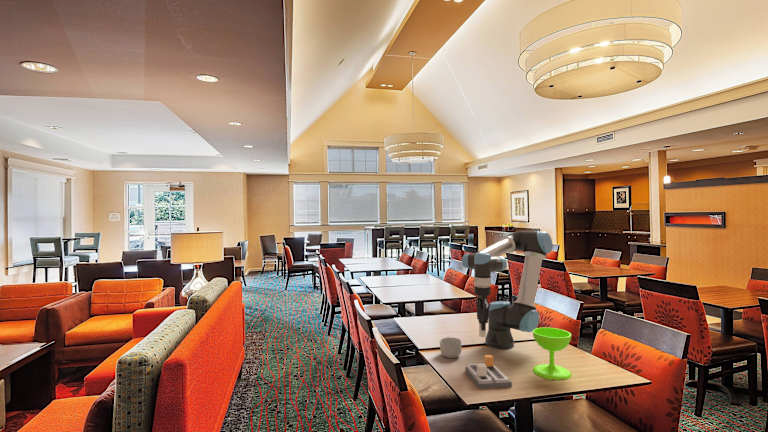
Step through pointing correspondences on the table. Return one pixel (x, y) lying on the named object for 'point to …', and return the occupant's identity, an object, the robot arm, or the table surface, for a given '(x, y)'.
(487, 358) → the fader
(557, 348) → the wineglass
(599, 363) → the table surface
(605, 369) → the table surface
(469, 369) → the console
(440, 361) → the table surface
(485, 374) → the fader
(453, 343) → the teacup
